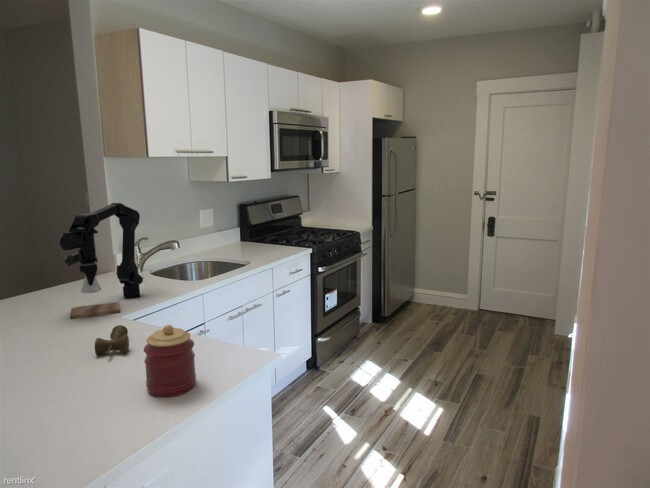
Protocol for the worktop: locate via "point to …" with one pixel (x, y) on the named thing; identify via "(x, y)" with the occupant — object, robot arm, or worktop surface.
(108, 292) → the worktop surface
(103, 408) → the worktop surface
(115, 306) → the walnut board
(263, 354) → the worktop surface
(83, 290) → the flask
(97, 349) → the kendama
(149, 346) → the canister
